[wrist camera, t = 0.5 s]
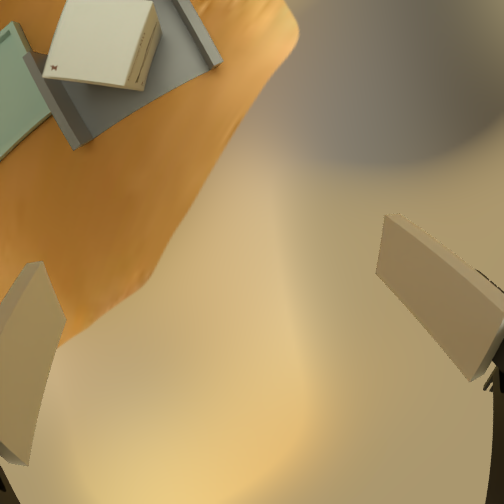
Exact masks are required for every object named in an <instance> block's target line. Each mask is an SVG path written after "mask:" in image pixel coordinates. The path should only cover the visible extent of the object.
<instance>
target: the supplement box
mask: <svg viewBox="0 0 504 504" xmlns="http://www.w3.org/2000/svg"><path fill="white" fill-rule="evenodd" d="M161 36H162V30H161V26H160V23H159V20H158V16H157V13H156V10H155V7H154V4H153V1H148V0H67V1H66V3H65V6H64V9H63V11H62V14H61V16H60V19H59V22H58V25H57V28H56V31H55V33H54V36H53V39H52V43H51V46H50V50H49V53H48V56H47V60H46V64H45V67H44V71H43V74H42V77H43V78H48V79H57V80H65V81H73V82H81V83H88V84H95V85H103V86H109V87H116V88H123V89H130V90H137V91H144V88H145V84H146V80H147V76H148V72H149V69H150V66H151V63H152V60H153V57H154V54H155V51H156V48H157V46H158V43H159V40H160V38H161Z"/></svg>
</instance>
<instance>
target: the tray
mask: <svg viewBox="0 0 504 504" xmlns="http://www.w3.org/2000/svg"><path fill="white" fill-rule="evenodd" d="M29 51H31V52H33V51H32V49H31V47H30V45H29V43H28V41H27V39H26V36H25V34H24V32H23V30H22V28H21V26H20V24H19V23H17V22H14V21H11V22H10V23H9V24H8V25H7V26H6V27H5V28H4V29H2V30H1V31H0V161H1V160H2V159H3V158H4V157H5V156H6V155H7V154H8V153H9V152H10V151H11V150H12V149H13V148H15V147H16V146H17V145H18V144H19V143H20V142H21V141H22V140H23V139H24V138H25V137H26V136H28V135H29V134H30V133H31V132H32V131H33V130H34V129H36V128H37V127H38V126H39V125H40V124H41V123H43V122H44V121H45V120H46V119H47V118H49V117H50V116H51V115H52V113H51V111H50V110H49V108H48V106H47V104H46V102H45V100H44V99H43V97H42V95H41V93H40V91H39V89H38V87H37V85H36V83H35V82H34V80H33V78H32V76H31V74H30V72H29V70H28V68H27V66H26V64H25V62H24V60H23V58H22V57H23V56H24V55H25V54H27V53H28V52H29Z"/></svg>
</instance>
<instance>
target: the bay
mask: <svg viewBox="0 0 504 504" xmlns="http://www.w3.org/2000/svg"><path fill="white" fill-rule="evenodd" d="M148 1H153V4H154V7H155V10H156V13H157V16H158V20H159V23H160V26H161V30H162V36H161V38H160V40H159V43H158V46H157V48H156V51H155V54H154V57H153V60H152V63H151V66H150V69H149V72H148V76H147V80H146V84H145V88H144V91H137V90H130V89H123V88H116V87H109V86H103V85H95V84H88V83H81V82H73V81H65V80H57V79H48V78H43V77H42V74H43V71H44V67H45V64H46V60H47V56H48V55H45V54H40V53H36V52H31V51H29V52H28V53H27V54H25V55H24V56H23V57H22V58H23V60H24V62H25V64H26V66H27V68H28V70H29V72H30V74H31V76H32V78H33V80H34V82H35V83H36V85H37V87H38V89H39V91H40V93H41V95H42V97H43V99H44V100H45V102H46V104H47V106H48V108H49V110H50V111H51V113H52V115H53V117H54V118H55V120H56V122H57V124H58V125H59V127H60V129H61V131H62V132H63V134H64V136H65V138H66V139H67V141H68V143H69V144H70V146H71V148H72V149H73V151H74V150H76V149H77V148H79V147H81V146H83V145H85V144H87V143H88V142H90V141H91V140H92V139H94V138H95V137H97V136H98V135H100V134H101V133H102V132H104V131H105V130H107V129H108V128H110V127H111V126H113V125H114V124H116V123H117V122H119V121H120V120H122V119H124V118H125V117H127V116H128V115H130V114H132V113H133V112H135V111H136V110H138V109H140V108H141V107H143V106H145V105H146V104H148V103H150V102H151V101H153V100H155V99H156V98H158V97H160V96H162V95H164V94H165V93H167V92H169V91H171V90H173V89H174V88H176V87H178V86H180V85H182V84H184V83H186V82H187V81H189V80H191V79H193V78H195V77H197V76H199V75H201V74H203V73H205V72H207V71H209V70H211V69H214V68H216V67H218V66H219V65H220V64H221V63H222V62H223V59H222V58H221V56H220V54H219V52H218V50H217V48H216V46H215V45H214V43H213V41H212V39H211V37H210V36H209V34H208V32H207V30H206V28H205V27H204V25H203V23H202V21H201V19H200V18H199V16H198V14H197V12H196V11H195V9H194V7H193V5H192V4H191V2H190V0H148Z"/></svg>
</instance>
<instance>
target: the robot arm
mask: <svg viewBox="0 0 504 504" xmlns="http://www.w3.org/2000/svg"><path fill="white" fill-rule="evenodd" d="M376 275H377V276H378V277H379V278H380V279H381V280H382V281H383V282H384V283H385V284H386V285H387V286H388V287H389V289H390V290H391V291H392V292H393V293H394V294H395V295H396V296H397V297H398V298H399V300H400V301H401V302H402V303H403V304H404V305H405V306H406V307H407V309H408V310H409V311H410V312H411V313H412V314H413V315H414V316H415V317H416V319H417V320H418V321H419V322H420V323H421V324H422V326H423V327H424V328H425V329H426V330H427V331H428V333H429V334H430V335H431V336H432V337H433V338H434V340H435V341H436V342H437V343H438V344H439V345H440V347H441V348H442V349H443V350H444V352H445V353H446V354H447V355H448V356H449V358H450V359H451V360H452V361H453V363H454V364H455V365H456V366H457V367H458V369H459V370H460V371H461V372H462V374H463V375H464V376H465V378H466V379H467V380H468V381H469V382H471V381H473V380H474V379H476V378H478V377H480V376H482V375H483V374H484V373H485V372H486V370H487V368H488V367H489V365H490V363H491V361H493V362H494V363H495V365H496V367H495V369H494V371H493V372H492V374H491V375H490V377H489V378H488V380H487V382H486V383H485V385H484V388H483V390H484V391H485V390H486V389H487V388H488V386H489V385H490V383H492V382H493V386H492V387H491V389H490V391H491V392H493V411H494V412H493V441H492V455H491V467H490V475H489V483H488V490H487V497H486V503H485V504H504V292H503V291H502V290H501V289H500V288H499V287H498V288H497V286H496V285H495V284H494V283H493V282H492V281H489V279H488V278H487V277H486V276H485V275H483V274H482V273H481V272H480V271H478V270H476V269H474V268H473V267H471V266H470V265H469V264H467V263H466V262H465V261H464V260H462V259H461V258H460V257H459V256H457V255H456V254H455V253H453V252H452V251H451V250H450V249H448V248H447V247H446V246H444V245H443V244H442V243H440V242H439V241H438V240H436V239H435V238H434V237H432V236H431V235H430V234H428V233H427V232H425V231H424V230H423V229H421V228H420V227H418V226H417V225H416V224H414V223H413V222H411V221H410V220H409V219H407V218H406V217H404V216H403V215H401V214H400V213H397V214H388V215H385V216H384V224H383V231H382V238H381V244H380V250H379V257H378V262H377V268H376ZM65 322H66V318H65V316H64V313H63V311H62V309H61V306H60V304H59V302H58V299H57V297H56V294H55V292H54V289H53V287H52V284H51V282H50V279H49V277H48V274H47V271H46V269H45V266H44V263H43V261H39V262H33V263H27V264H26V265H25V267H24V268H23V270H22V271H21V273H20V274H19V276H18V277H17V279H16V280H15V282H14V283H13V285H12V286H11V288H10V289H9V291H8V293H7V294H6V296H5V297H4V299H3V301H2V302H1V304H0V456H1V457H3V458H4V459H5V460H6V461H7V462H9V463H12V464H18V465H23V466H28V465H29V458H30V452H31V447H32V442H33V436H34V432H35V427H36V423H37V418H38V414H39V409H40V406H41V401H42V397H43V393H44V390H45V386H46V382H47V379H48V375H49V372H50V368H51V365H52V361H53V358H54V355H55V352H56V349H57V346H58V343H59V340H60V337H61V334H62V331H63V328H64V325H65ZM0 504H20V502H19V500H18V499H17V497H16V495H15V493H14V491H13V489H12V487H11V485H10V484H9V481H8V479H7V477H6V475H5V473H4V471H3V469H2V468H1V466H0Z"/></svg>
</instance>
